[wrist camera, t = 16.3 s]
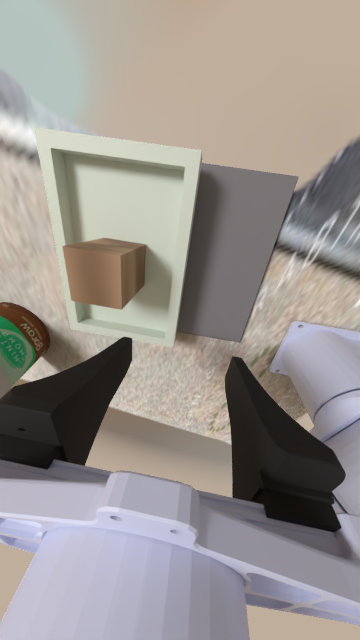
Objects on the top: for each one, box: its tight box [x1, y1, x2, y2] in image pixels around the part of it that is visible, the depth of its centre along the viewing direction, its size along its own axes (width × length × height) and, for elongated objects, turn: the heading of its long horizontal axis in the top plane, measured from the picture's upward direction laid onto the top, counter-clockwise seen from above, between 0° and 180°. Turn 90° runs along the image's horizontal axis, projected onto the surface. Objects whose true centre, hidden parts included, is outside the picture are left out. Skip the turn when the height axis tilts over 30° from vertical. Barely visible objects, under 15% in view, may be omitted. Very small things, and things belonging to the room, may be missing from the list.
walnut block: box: [62, 238, 146, 310], centre depth 16 cm, size 4×4×6 cm
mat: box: [177, 163, 298, 343], centre depth 20 cm, size 22×17×1 cm
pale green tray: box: [34, 127, 202, 348], centre depth 19 cm, size 12×17×4 cm
